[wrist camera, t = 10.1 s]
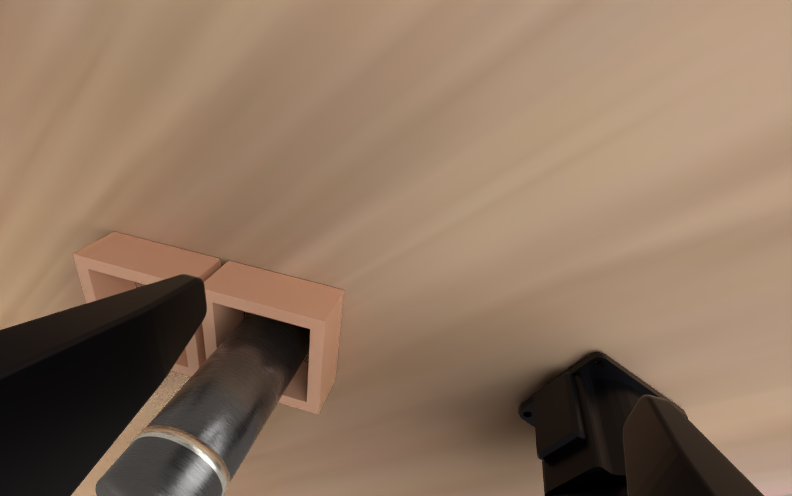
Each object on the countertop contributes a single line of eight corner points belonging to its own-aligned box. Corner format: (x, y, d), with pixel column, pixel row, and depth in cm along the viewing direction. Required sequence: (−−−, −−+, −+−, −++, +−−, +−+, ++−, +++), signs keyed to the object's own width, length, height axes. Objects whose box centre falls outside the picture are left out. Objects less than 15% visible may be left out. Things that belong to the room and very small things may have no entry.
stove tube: (319, 306, 26) (191, 498, 15) (316, 360, 28) (202, 559, 17) (251, 287, 26) (83, 460, 16) (252, 342, 28) (107, 524, 18)
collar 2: (344, 290, 25) (325, 321, 22) (335, 379, 28) (318, 414, 26) (228, 260, 26) (197, 287, 23) (235, 350, 29) (208, 381, 27)
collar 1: (220, 258, 26) (188, 285, 23) (227, 348, 30) (200, 379, 27) (114, 231, 27) (72, 253, 24) (133, 321, 31) (99, 349, 28)
